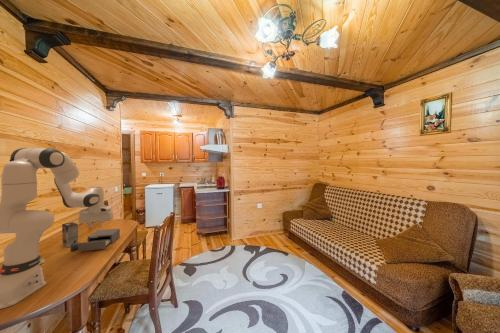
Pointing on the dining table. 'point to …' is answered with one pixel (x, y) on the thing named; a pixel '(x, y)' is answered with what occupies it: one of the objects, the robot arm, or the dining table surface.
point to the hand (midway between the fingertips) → (96, 227)
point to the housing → (105, 235)
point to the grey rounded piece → (73, 247)
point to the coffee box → (69, 234)
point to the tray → (93, 245)
